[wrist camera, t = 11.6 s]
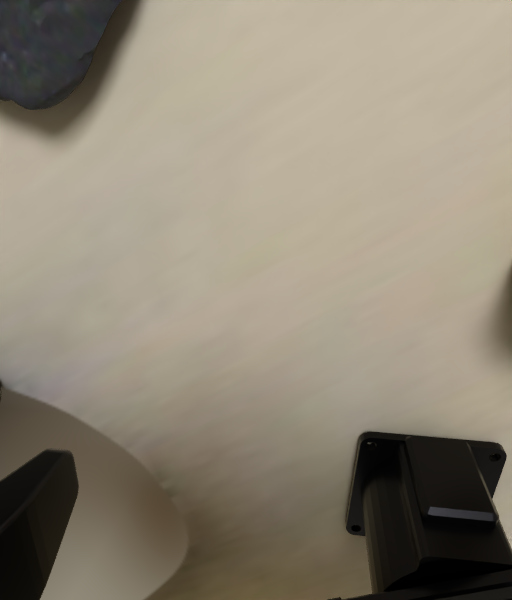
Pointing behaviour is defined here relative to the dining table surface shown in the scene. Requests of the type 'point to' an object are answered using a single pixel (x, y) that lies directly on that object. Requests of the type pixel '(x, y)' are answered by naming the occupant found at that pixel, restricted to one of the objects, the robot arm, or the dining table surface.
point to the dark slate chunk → (48, 47)
